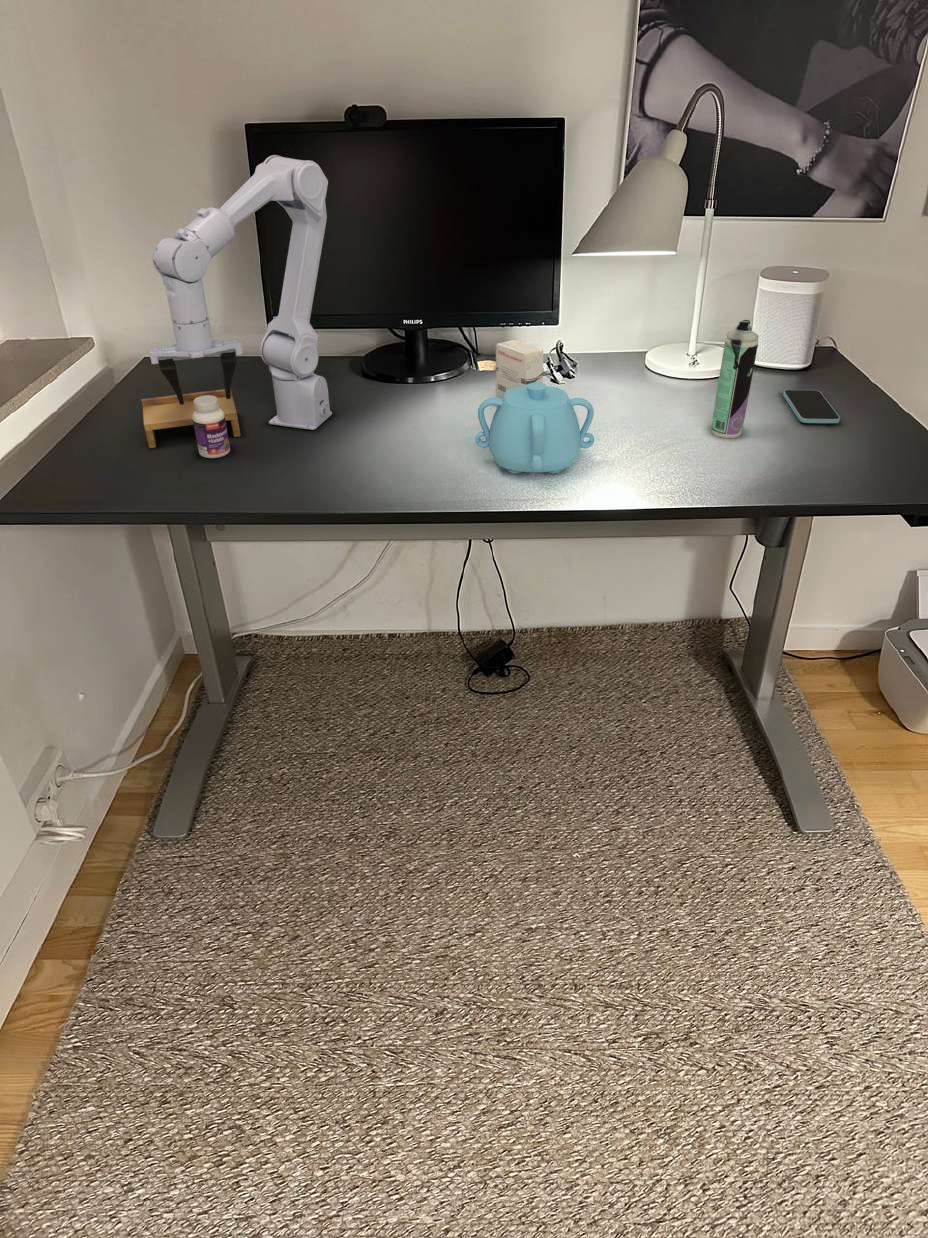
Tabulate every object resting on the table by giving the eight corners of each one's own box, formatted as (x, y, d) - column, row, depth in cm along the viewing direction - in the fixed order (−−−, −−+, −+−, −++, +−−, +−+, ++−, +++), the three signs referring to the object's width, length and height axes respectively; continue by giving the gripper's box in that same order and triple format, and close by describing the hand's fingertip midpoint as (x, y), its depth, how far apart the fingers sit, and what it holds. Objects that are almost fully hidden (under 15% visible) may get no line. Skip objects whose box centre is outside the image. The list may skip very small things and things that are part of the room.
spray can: (742, 439, 161) (763, 326, 149) (710, 437, 162) (728, 325, 150) (741, 426, 165) (761, 316, 154) (710, 424, 166) (727, 314, 154)
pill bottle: (213, 461, 156) (203, 408, 150) (192, 453, 158) (182, 400, 153) (237, 450, 159) (228, 398, 154) (217, 443, 162) (207, 390, 156)
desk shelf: (235, 417, 171) (230, 388, 168) (240, 436, 164) (235, 406, 161) (147, 428, 167) (141, 398, 164) (149, 448, 160) (142, 417, 157)
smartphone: (819, 390, 177) (841, 419, 164) (818, 395, 177) (840, 425, 165) (782, 389, 177) (801, 418, 165) (781, 394, 178) (800, 424, 165)
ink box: (543, 410, 172) (546, 348, 166) (524, 416, 170) (525, 355, 163) (513, 396, 178) (514, 337, 171) (493, 403, 175) (494, 342, 168)
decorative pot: (539, 433, 164) (542, 360, 156) (601, 464, 153) (607, 387, 145) (467, 458, 156) (466, 381, 148) (527, 492, 145) (529, 412, 138)
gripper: (143, 331, 140) (161, 413, 148) (238, 321, 144) (251, 402, 152) (142, 317, 146) (160, 398, 154) (234, 308, 149) (246, 387, 157)
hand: (205, 399), depth 153 cm, fingers open, 7 cm apart
